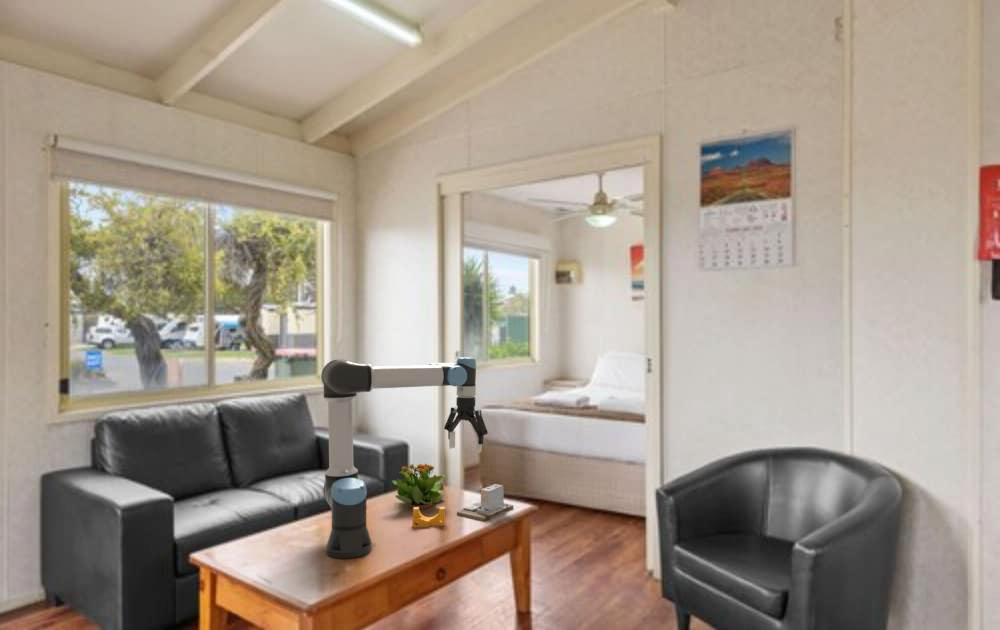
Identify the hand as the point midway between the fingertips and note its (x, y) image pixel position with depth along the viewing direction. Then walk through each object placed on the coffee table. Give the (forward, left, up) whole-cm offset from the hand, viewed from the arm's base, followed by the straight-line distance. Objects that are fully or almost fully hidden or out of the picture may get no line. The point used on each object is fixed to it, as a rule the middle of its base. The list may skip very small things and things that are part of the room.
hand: (465, 450), depth 242 cm
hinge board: (+10, +6, -27) cm, 30 cm away
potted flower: (-13, +24, -27) cm, 38 cm away
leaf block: (+12, +3, -26) cm, 29 cm away
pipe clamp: (-15, -1, -28) cm, 32 cm away
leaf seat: (+12, +3, -26) cm, 29 cm away
